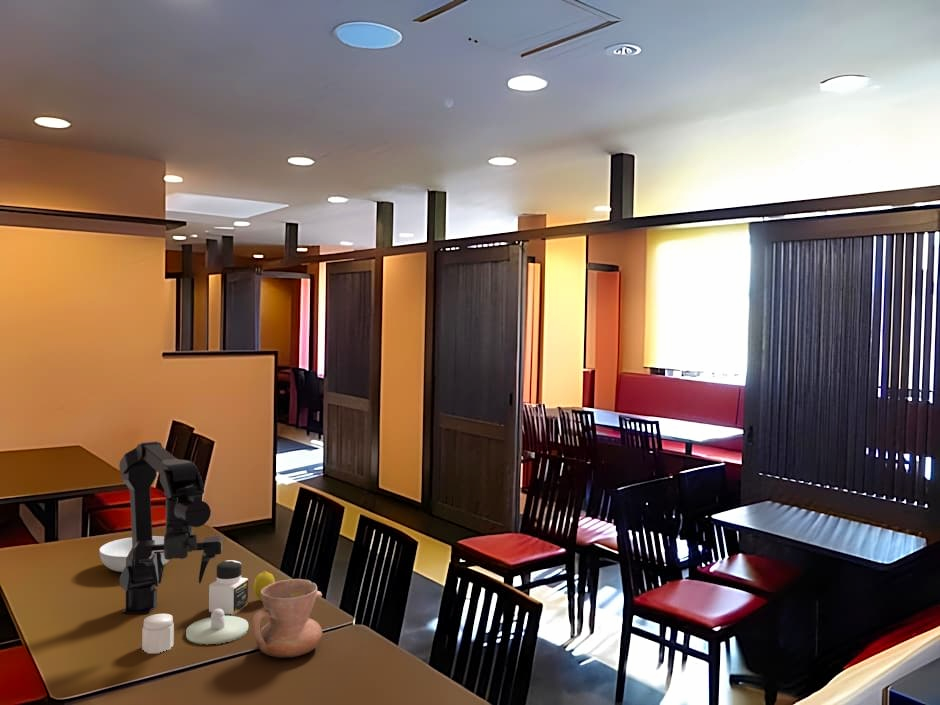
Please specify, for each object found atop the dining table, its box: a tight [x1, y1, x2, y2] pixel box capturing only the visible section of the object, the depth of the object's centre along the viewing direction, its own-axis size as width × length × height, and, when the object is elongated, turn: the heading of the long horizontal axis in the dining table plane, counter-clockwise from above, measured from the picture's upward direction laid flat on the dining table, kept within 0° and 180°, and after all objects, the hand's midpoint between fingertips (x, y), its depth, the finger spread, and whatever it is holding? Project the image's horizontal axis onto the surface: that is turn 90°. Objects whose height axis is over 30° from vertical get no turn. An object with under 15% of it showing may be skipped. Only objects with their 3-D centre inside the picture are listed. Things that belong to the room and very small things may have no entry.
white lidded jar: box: [141, 613, 175, 654], centre depth 162 cm, size 6×6×6 cm
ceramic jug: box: [251, 578, 323, 659], centre depth 162 cm, size 18×14×14 cm
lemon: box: [253, 570, 276, 600], centre depth 190 cm, size 6×6×8 cm
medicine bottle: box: [208, 559, 249, 616], centre depth 185 cm, size 7×7×12 cm
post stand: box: [185, 609, 249, 646], centre depth 171 cm, size 14×14×6 cm
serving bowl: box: [99, 535, 170, 573], centre depth 213 cm, size 21×21×7 cm
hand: (178, 584), depth 166 cm, fingers open, 9 cm apart
